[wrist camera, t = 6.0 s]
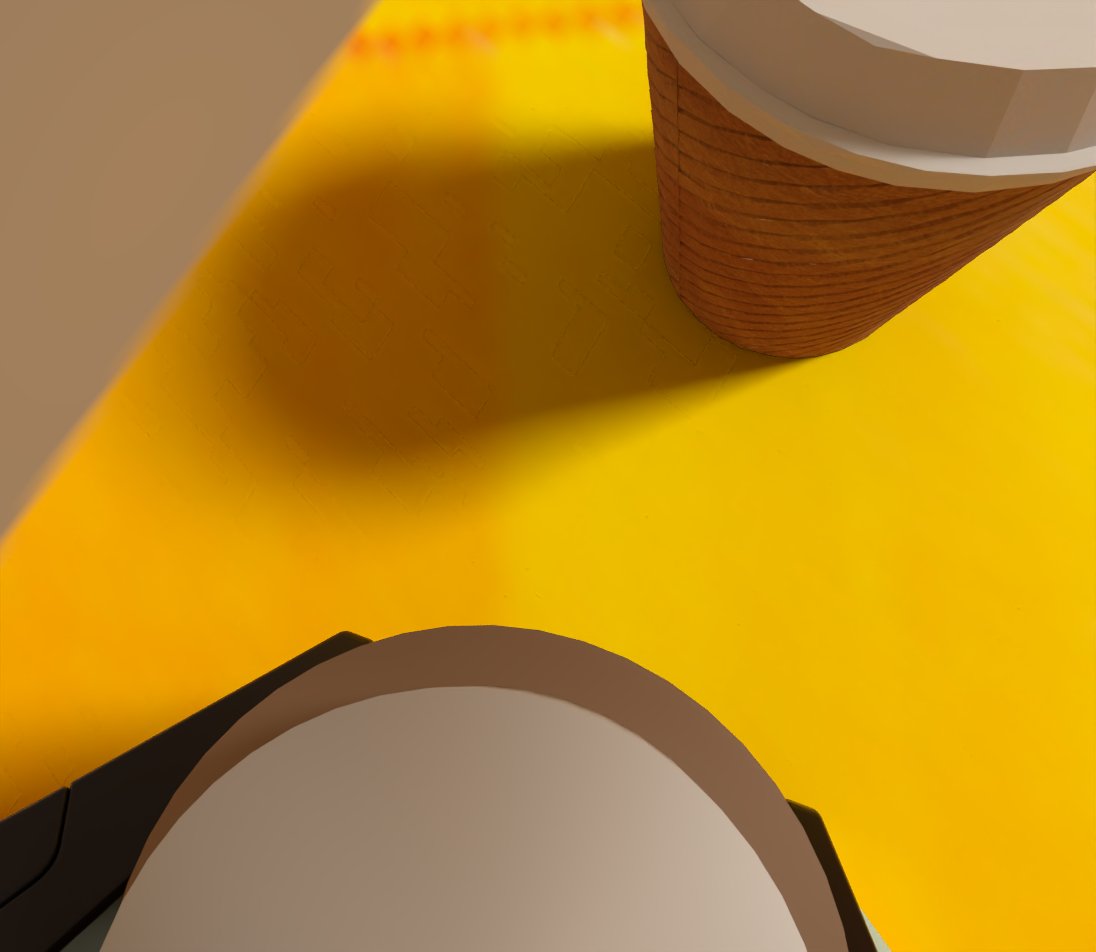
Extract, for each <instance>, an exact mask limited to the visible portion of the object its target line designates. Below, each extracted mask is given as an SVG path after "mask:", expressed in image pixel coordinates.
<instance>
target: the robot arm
mask: <svg viewBox="0 0 1096 952" xmlns="http://www.w3.org/2000/svg"><path fill="white" fill-rule="evenodd" d="M372 642H374V641H372V640H371V639H368V638H365V637H363V636H360V635H357V634H355V633H352V632H349V631H343V632H340V633H338V634H336V635H334V636H332V637H330V638H329V639H327V640H325V641H323V642H321V643H320V644H318V645H316V646H314V647H313V648H311V649H309V650H307V651H305V652H304V653H302V654H300V655H298V656H296V657H295V658H293V659H291V660H289V661H287V662H286V663H284V664H282V665H280V666H279V667H277V668H275V669H273V670H271V671H270V672H268V673H266V674H264V675H262V676H261V677H259V678H257V679H255V680H254V681H252V682H250V683H248V684H246V685H245V686H243V687H241V688H239V689H237V690H236V691H234V692H232V693H230V694H229V695H227V696H225V697H223V698H221V699H220V700H218V701H216V702H214V703H212V704H211V705H209V706H207V707H205V708H204V709H202V710H200V711H198V712H196V713H195V714H193V715H191V716H189V717H187V718H186V719H184V720H182V721H180V722H178V723H177V724H175V725H173V726H171V727H170V728H168V729H166V730H164V731H162V732H161V733H159V734H157V735H155V736H153V737H152V738H150V739H148V740H146V741H145V742H143V743H141V744H139V745H137V746H136V747H134V748H132V749H130V750H128V751H127V752H125V753H123V754H121V755H120V756H118V757H116V758H114V759H112V760H111V761H109V762H107V763H105V764H103V765H102V766H100V767H98V768H96V769H95V770H93V771H91V772H89V773H87V774H86V775H84V776H82V777H80V778H78V779H77V780H75V781H73V782H72V783H71V785H70V789H69V787H66V786H64V787H62V788H60V789H58V790H56V791H55V792H53V793H51V794H49V795H47V796H46V797H44V798H42V799H40V800H39V801H37V802H35V803H33V804H31V805H30V806H28V807H26V808H24V809H22V810H20V811H18V812H16V813H15V814H13V815H11V816H9V817H7V818H5V819H3V820H1V821H0V952H100V949H101V947H102V945H103V943H104V941H105V938H106V936H107V934H108V932H109V930H110V927H111V925H112V923H113V921H114V919H115V916H116V914H117V912H118V910H119V907H120V905H121V902H122V899H123V896H124V893H125V889H126V886H127V883H128V881H129V879H130V877H131V874H132V872H133V870H134V868H135V866H136V863H137V861H138V859H139V857H140V855H141V852H142V850H143V848H144V846H145V844H146V841H147V839H148V837H149V835H150V833H151V832H152V830H153V828H154V827H155V825H156V823H157V822H158V820H159V818H160V817H161V815H162V813H163V812H164V810H165V808H166V807H167V805H168V804H169V802H170V800H171V799H172V797H173V795H174V794H175V792H176V791H177V789H178V788H179V787H180V786H181V784H182V783H183V782H184V780H185V779H186V778H187V777H188V775H189V774H190V773H191V771H192V770H193V769H194V768H195V766H196V765H197V764H198V762H199V761H200V760H201V759H202V757H203V756H204V755H205V753H206V752H207V751H208V750H209V749H210V748H211V747H212V746H213V745H214V744H215V743H216V742H217V741H218V740H219V739H220V738H221V737H222V736H223V735H224V734H225V733H226V732H227V731H228V730H229V729H230V728H231V727H232V726H233V725H234V724H235V723H236V722H237V721H238V720H239V719H240V718H241V717H243V716H244V715H245V714H246V713H248V712H249V711H250V710H251V709H253V708H254V707H255V706H257V705H258V704H259V703H260V702H262V701H263V700H264V699H265V698H267V697H268V696H269V695H270V694H272V693H273V692H274V691H275V690H277V689H278V688H280V687H282V686H283V685H285V684H287V683H288V682H290V681H292V680H293V679H295V678H296V677H298V676H300V675H301V674H303V673H305V672H306V671H308V670H310V669H311V668H313V667H315V666H316V665H318V664H321V663H323V662H325V661H327V660H330V659H332V658H334V657H336V656H339V655H341V654H343V653H345V652H348V651H350V650H352V649H354V648H357V647H359V646H362V645H365V644H369V643H372ZM785 800H786V801H787V803H788V804H789V806H790V807H791V809H792V811H793V812H794V814H795V815H796V817H797V819H798V820H799V822H800V823H801V825H802V826H803V828H804V830H805V832H806V835H807V837H808V839H809V841H810V843H811V845H812V847H813V849H814V851H815V854H816V856H817V858H818V860H819V862H820V864H821V866H822V868H823V870H824V872H825V875H826V877H827V880H828V883H829V886H830V889H831V892H832V895H833V898H834V901H835V904H836V907H837V910H838V913H839V916H840V919H841V922H842V925H843V928H844V933H845V938H846V942H847V947H848V952H878V951H877V948H876V946H875V944H874V941H873V939H872V936H871V934H870V932H869V929H868V927H867V924H866V922H865V920H864V917H863V915H862V913H861V910H860V908H859V905H858V903H857V901H856V898H855V896H854V893H853V891H852V889H851V886H850V884H849V882H848V879H847V877H846V874H845V872H844V870H843V867H842V865H841V862H840V860H839V858H838V855H837V853H836V851H835V848H834V846H833V843H832V841H831V839H830V836H829V834H828V831H827V829H826V827H825V824H824V822H823V820H822V817H821V816H820V814H819V813H818V812H817V811H816V810H815V809H813V808H810V807H808V806H805V805H802V804H800V803H797V802H795V801H792V800H789V799H785Z"/></svg>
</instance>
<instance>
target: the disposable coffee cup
mask: <svg viewBox="0 0 1096 952" xmlns="http://www.w3.org/2000/svg"><path fill="white" fill-rule="evenodd" d="M642 7H643V15H644V25H645V46H646V50H647V69H648V80H649V87H650V90H649V91H650V99H651V107H652V110H651V113H652V121H653V133H654V142H655V156H656V169H657V177H658V180H657V182H658V190H659V203H660V211H661V226H662V246H663V255H664V260H665V263H666V266H667V270H668V273H669V276H670V279H671V281H672V283H673V285H674V287H675V289H676V291H677V293H678V295H679V297H680V299H681V300H682V301H683V302H684V303H685V305H686V306H687V307H688V308H689V309H690V310H691V311H692V312H693V314H694V315H695V316H696V317H697V318H698V319H699V320H700V321H701V323H703V324H704V325H705V326H707V327H708V328H709V329H710V330H712V331H713V332H714V333H716V334H717V335H718V336H720V337H722V338H724V339H726V340H728V341H730V342H732V343H734V344H736V345H738V346H740V347H741V348H744V349H748V350H752V351H756V352H760V353H763V354H767V355H771V356H779V357H789V358H798V357H810V356H820V355H824V354H827V353H831V352H835V351H838V350H842V349H845V348H847V347H849V346H851V345H853V344H855V343H857V342H859V341H861V340H863V339H865V338H866V337H868V336H869V335H870V334H872V333H873V332H874V331H875V330H877V329H878V328H879V327H881V326H882V325H883V324H884V323H886V322H887V321H889V320H890V319H891V318H893V317H894V316H895V315H897V314H898V313H900V312H901V311H903V310H904V309H905V308H907V307H908V306H909V305H911V304H912V303H914V302H915V301H917V300H918V299H919V298H921V297H922V296H923V295H925V294H926V293H928V292H929V291H930V290H932V289H933V288H934V287H936V286H938V285H939V284H941V283H942V282H944V281H945V280H946V279H948V278H949V277H950V276H952V275H953V274H954V273H956V272H957V271H958V270H960V269H961V268H962V267H964V266H965V265H966V264H968V263H969V262H971V261H972V260H973V259H975V258H976V257H977V256H979V255H980V254H981V253H983V252H984V251H986V250H987V249H989V248H991V247H992V246H994V245H995V244H996V243H998V242H999V241H1000V240H1001V239H1003V238H1004V237H1005V236H1007V235H1008V234H1010V233H1012V232H1013V231H1014V230H1016V229H1017V228H1018V227H1020V226H1021V225H1022V224H1023V223H1025V222H1026V221H1028V220H1029V219H1031V218H1032V217H1034V216H1035V215H1036V214H1038V213H1039V212H1040V211H1042V210H1043V209H1044V208H1045V207H1047V206H1048V205H1050V204H1051V203H1053V202H1054V201H1056V200H1057V199H1059V198H1060V197H1061V196H1063V195H1064V194H1065V193H1066V192H1068V191H1069V190H1070V189H1072V188H1073V187H1075V186H1076V185H1078V184H1079V183H1081V182H1082V181H1084V180H1085V179H1086V178H1088V177H1089V176H1090V175H1091V174H1093V173H1094V172H1095V171H1096V0H642Z"/></svg>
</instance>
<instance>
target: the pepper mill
mask: <svg viewBox="0 0 1096 952" xmlns="http://www.w3.org/2000/svg"><path fill="white" fill-rule="evenodd" d="M100 952H848V947H847V942H846V938H845V933H844V928H843V925H842V922H841V919H840V916H839V913H838V910H837V907H836V904H835V901H834V898H833V895H832V892H831V889H830V886H829V883H828V880H827V877H826V875H825V872H824V870H823V868H822V866H821V864H820V862H819V860H818V858H817V856H816V854H815V851H814V849H813V847H812V845H811V843H810V841H809V839H808V837H807V835H806V832H805V830H804V828H803V826H802V825H801V823H800V822H799V820H798V819H797V817H796V815H795V814H794V812H793V811H792V809H791V807H790V806H789V804H788V803H787V801H786V800H785V798H784V796H783V795H782V793H781V792H780V790H779V788H778V787H777V785H776V784H775V782H774V781H773V780H772V779H771V778H770V776H769V775H768V774H767V773H766V771H765V770H764V769H763V768H762V767H761V765H760V764H759V763H758V762H757V760H756V759H755V758H754V757H753V756H752V754H751V753H750V752H749V751H748V749H747V748H746V747H745V746H744V745H743V744H742V743H741V742H740V741H739V740H738V739H737V738H736V737H735V736H734V735H733V734H732V733H731V732H730V731H729V730H728V729H727V728H726V727H725V726H724V725H722V724H721V723H720V722H719V721H718V720H717V719H716V718H715V717H714V716H713V715H712V714H711V713H710V712H709V711H708V710H707V709H705V708H704V707H702V706H701V705H700V704H698V703H697V702H696V701H694V700H693V699H692V698H690V697H689V696H687V695H686V694H685V693H683V692H682V691H681V690H679V689H678V688H677V687H675V686H674V685H673V684H671V683H670V682H668V681H667V680H665V679H663V678H661V677H659V676H658V675H656V674H654V673H652V672H650V671H649V670H647V669H645V668H643V667H641V666H640V665H638V664H636V663H634V662H632V661H631V660H629V659H627V658H624V657H622V656H619V655H617V654H614V653H612V652H609V651H607V650H604V649H602V648H599V647H597V646H594V645H592V644H589V643H586V642H584V641H580V640H576V639H572V638H568V637H564V636H560V635H556V634H552V633H548V632H544V631H540V630H532V629H523V628H514V627H505V626H496V625H483V626H447V627H441V628H434V629H428V630H421V631H415V632H409V633H403V634H399V635H396V636H393V637H389V638H386V639H382V640H379V641H376V642H372V643H369V644H365V645H362V646H359V647H357V648H354V649H352V650H350V651H348V652H345V653H343V654H341V655H339V656H336V657H334V658H332V659H330V660H327V661H325V662H323V663H321V664H318V665H316V666H315V667H313V668H311V669H310V670H308V671H306V672H305V673H303V674H301V675H300V676H298V677H296V678H295V679H293V680H292V681H290V682H288V683H287V684H285V685H283V686H282V687H280V688H278V689H277V690H275V691H274V692H273V693H272V694H270V695H269V696H268V697H267V698H265V699H264V700H263V701H262V702H260V703H259V704H258V705H257V706H255V707H254V708H253V709H251V710H250V711H249V712H248V713H246V714H245V715H244V716H243V717H241V718H240V719H239V720H238V721H237V722H236V723H235V724H234V725H233V726H232V727H231V728H230V729H229V730H228V731H227V732H226V733H225V734H224V735H223V736H222V737H221V738H220V739H219V740H218V741H217V742H216V743H215V744H214V745H213V746H212V747H211V748H210V749H209V750H208V751H207V752H206V753H205V755H204V756H203V757H202V759H201V760H200V761H199V762H198V764H197V765H196V766H195V768H194V769H193V770H192V771H191V773H190V774H189V775H188V777H187V778H186V779H185V780H184V782H183V783H182V784H181V786H180V787H179V788H178V789H177V791H176V792H175V794H174V795H173V797H172V799H171V800H170V802H169V804H168V805H167V807H166V808H165V810H164V812H163V813H162V815H161V817H160V818H159V820H158V822H157V823H156V825H155V827H154V828H153V830H152V832H151V833H150V835H149V837H148V839H147V841H146V844H145V846H144V848H143V850H142V852H141V855H140V857H139V859H138V861H137V863H136V866H135V868H134V870H133V872H132V874H131V877H130V879H129V881H128V883H127V886H126V889H125V893H124V896H123V899H122V902H121V905H120V907H119V910H118V912H117V914H116V916H115V919H114V921H113V923H112V925H111V927H110V930H109V932H108V934H107V936H106V938H105V941H104V943H103V945H102V947H101V949H100Z"/></svg>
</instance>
